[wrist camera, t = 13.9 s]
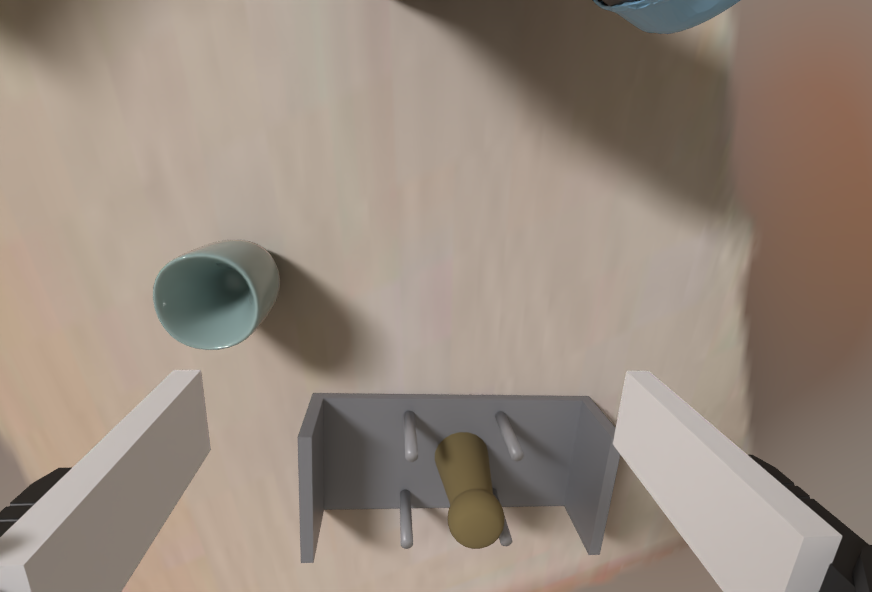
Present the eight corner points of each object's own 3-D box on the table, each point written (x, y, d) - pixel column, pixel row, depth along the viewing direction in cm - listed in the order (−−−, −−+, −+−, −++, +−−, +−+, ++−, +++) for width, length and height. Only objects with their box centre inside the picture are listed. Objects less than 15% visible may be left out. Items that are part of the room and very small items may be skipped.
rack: (314, 503, 51) (300, 562, 44) (312, 393, 47) (297, 437, 40) (570, 499, 55) (599, 554, 47) (588, 396, 51) (623, 437, 43)
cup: (294, 307, 45) (268, 346, 35) (214, 314, 44) (165, 356, 35) (281, 228, 42) (249, 248, 33) (196, 236, 42) (138, 257, 32)
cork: (446, 486, 51) (460, 570, 41) (425, 445, 49) (434, 521, 39) (495, 466, 51) (522, 544, 40) (476, 423, 49) (499, 494, 39)
